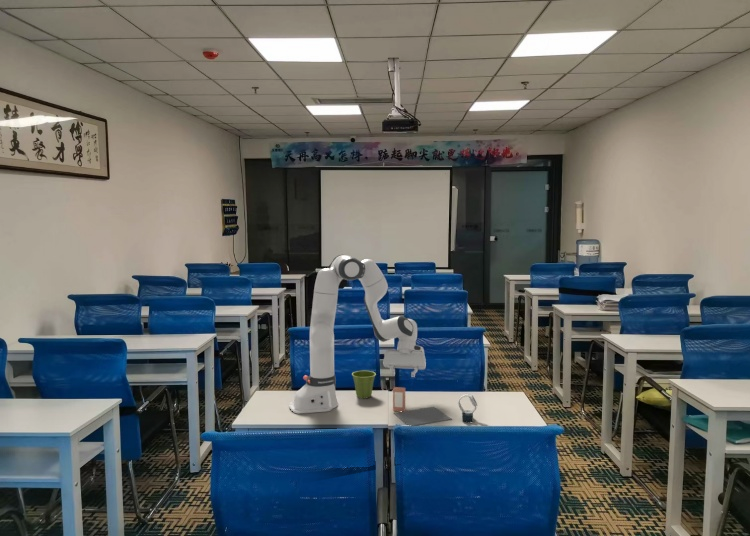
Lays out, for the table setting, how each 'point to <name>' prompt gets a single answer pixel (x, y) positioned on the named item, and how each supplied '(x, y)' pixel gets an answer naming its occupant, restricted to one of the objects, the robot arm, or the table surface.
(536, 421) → the table surface
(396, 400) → the block
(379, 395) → the table surface
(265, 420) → the table surface
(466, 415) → the watch
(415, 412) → the mat
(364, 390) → the plant pot
